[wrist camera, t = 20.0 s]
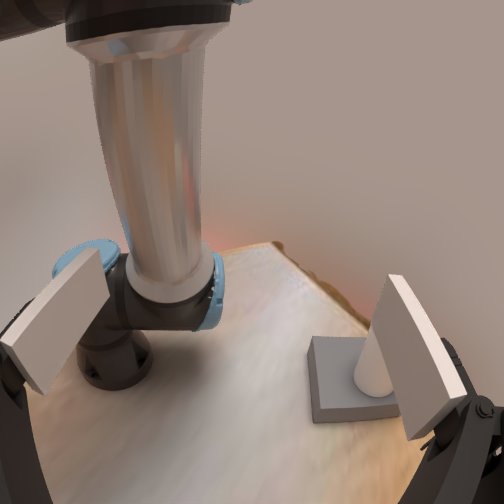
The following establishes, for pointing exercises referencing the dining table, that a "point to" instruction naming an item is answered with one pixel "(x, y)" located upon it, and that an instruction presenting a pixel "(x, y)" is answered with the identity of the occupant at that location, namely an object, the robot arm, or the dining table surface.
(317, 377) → the riser block
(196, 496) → the dining table surface
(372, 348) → the candle holder
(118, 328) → the robot arm
